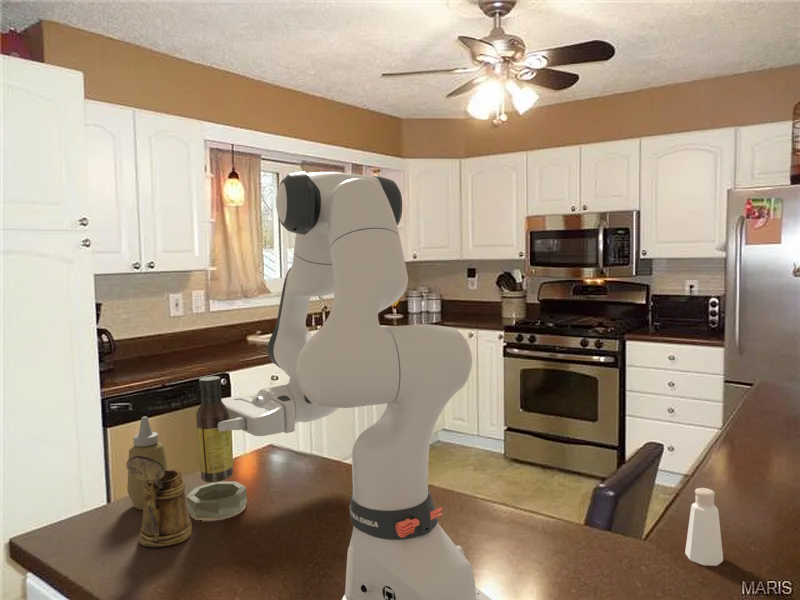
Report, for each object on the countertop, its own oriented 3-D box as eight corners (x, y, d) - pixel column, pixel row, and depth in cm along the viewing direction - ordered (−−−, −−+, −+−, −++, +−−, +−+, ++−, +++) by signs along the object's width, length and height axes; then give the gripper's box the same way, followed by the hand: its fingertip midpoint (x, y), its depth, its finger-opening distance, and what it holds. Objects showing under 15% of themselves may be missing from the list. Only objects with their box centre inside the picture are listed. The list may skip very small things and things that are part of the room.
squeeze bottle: (178, 496, 125) (173, 411, 123) (159, 513, 117) (153, 423, 115) (141, 495, 125) (136, 411, 124) (120, 512, 117) (113, 423, 116)
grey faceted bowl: (255, 508, 117) (255, 491, 117) (202, 526, 110) (201, 508, 110) (231, 493, 125) (230, 477, 125) (180, 508, 118) (179, 491, 118)
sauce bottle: (240, 473, 119) (235, 375, 117) (219, 485, 113) (213, 382, 111) (214, 469, 122) (209, 373, 120) (192, 481, 116) (186, 380, 114)
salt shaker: (703, 569, 91) (704, 499, 91) (677, 552, 97) (678, 486, 96) (731, 563, 93) (732, 494, 92) (704, 546, 98) (705, 481, 97)
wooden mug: (116, 562, 98) (109, 456, 97) (153, 525, 112) (147, 431, 110) (170, 562, 98) (163, 455, 96) (200, 524, 111) (195, 430, 110)
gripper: (248, 386, 132) (187, 397, 123) (297, 402, 117) (231, 416, 108) (249, 414, 133) (188, 427, 124) (298, 433, 118) (233, 450, 109)
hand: (209, 422), depth 116 cm, fingers closed on sauce bottle, 6 cm apart
